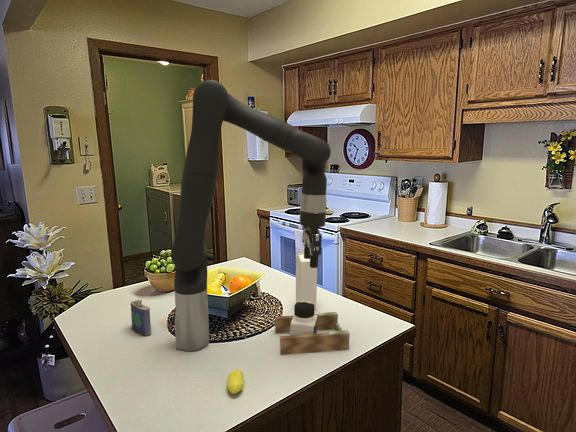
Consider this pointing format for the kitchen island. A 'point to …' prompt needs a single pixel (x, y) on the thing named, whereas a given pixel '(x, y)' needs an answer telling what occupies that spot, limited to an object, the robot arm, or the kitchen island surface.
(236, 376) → the lemon
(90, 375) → the kitchen island surface
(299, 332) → the medicine bottle
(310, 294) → the milk
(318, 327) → the bay
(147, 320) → the flask
